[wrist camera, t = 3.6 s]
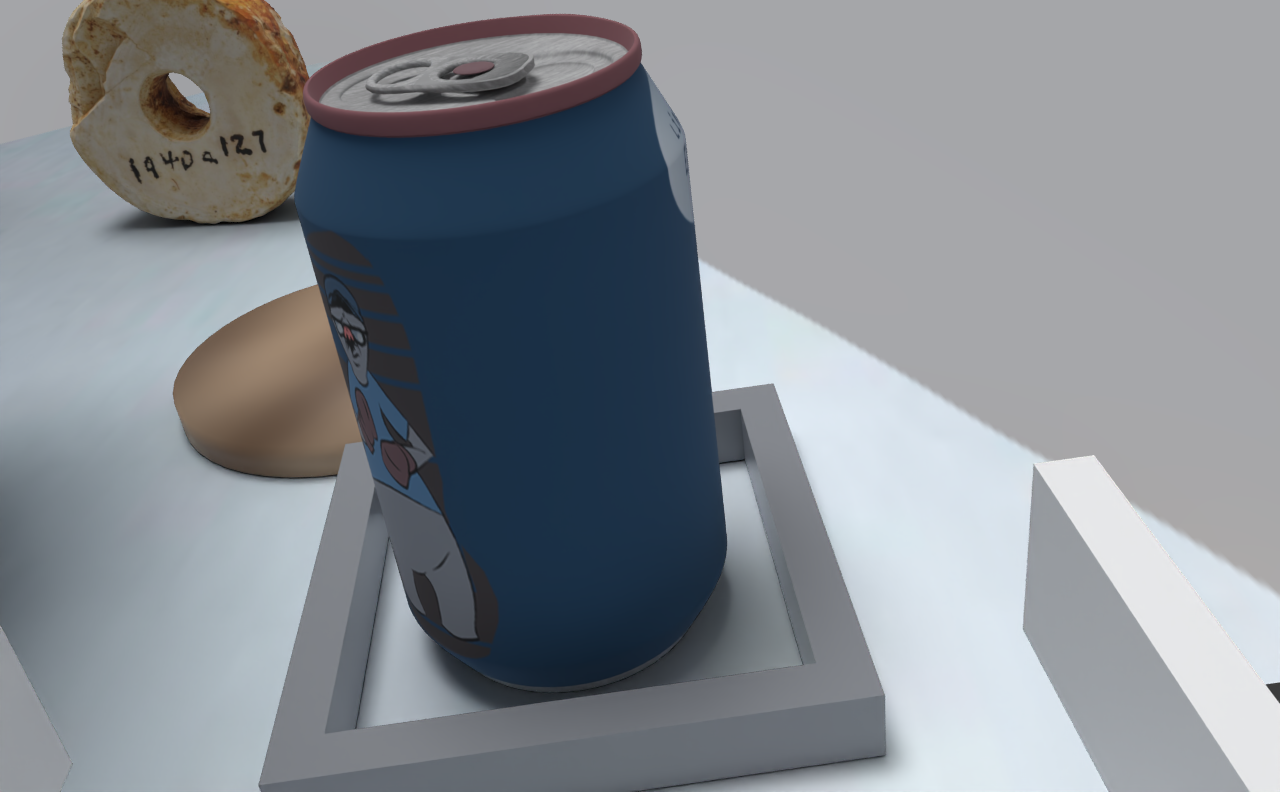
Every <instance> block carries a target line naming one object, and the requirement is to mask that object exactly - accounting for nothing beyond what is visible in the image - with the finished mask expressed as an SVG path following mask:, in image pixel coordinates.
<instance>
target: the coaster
mask: <svg viewBox="0 0 1280 792" xmlns="http://www.w3.org/2000/svg"><path fill="white" fill-rule="evenodd" d="M173 397H174V404H175V407H176V409H177V412H178V415H179V417H180V420H181V423H182V425H183V428H184V431H185V433H186V435H187V437H188V439H189V441H190V443H191V444H192V446H193V447H194V448H195V449H196V450H197V451H198V452H199V453H200V454H202V455H203V456H205V457H206V458H208V459H209V460H211V461H212V462H215V463H217V464H219V465H221V466H224V467H226V468H229V469H233V470H236V471H240V472H244V473H249V474H255V475H262V476H271V477H290V478H291V477H318V476H327V475H337V474H338V471H339V467H340V463H341V459H342V455H343V452H344V448H345V444H349V443H357V442H362V438H361V435H360V431H359V428H358V424H357V421H356V417H355V414H354V410H353V407H352V403H351V400H350V396H349V392H348V389H347V385H346V382H345V378H344V375H343V371H342V368H341V364H340V361H339V357H338V354H337V350H336V347H335V343H334V339H333V336H332V332H331V329H330V325H329V322H328V318H327V315H326V311H325V308H324V304H323V301H322V297H321V294H320V290H319V286H318V284H317V285H314V286H311V287H308V288H305V289H302V290H299V291H296V292H293V293H291V294H288V295H285V296H283V297H280V298H278V299H275V300H273V301H271V302H268V303H266V304H264V305H262V306H260V307H257V308H255V309H254V310H252V311H250V312H248V313H246V314H244V315H242V316H240V317H238V318H237V319H235V320H234V321H232V322H230V323H229V324H227V325H225V326H224V327H222V328H221V329H220V330H218V331H217V332H216V333H214V334H213V335H211V336H210V337H209V338H208V339H207V340H205V341H204V342H203V343H202V344H201V345H200V346H199V347H197V348H196V350H195V351H194V352H193V353H192V354H191V355H190V356H189V357H188V358H187V360H186V361H185V363H184V364H183V366H182V367H181V369H180V370H179V372H178V375H177V377H176V380H175V382H174V389H173Z"/></svg>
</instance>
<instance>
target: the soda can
mask: <svg viewBox="0 0 1280 792" xmlns="http://www.w3.org/2000/svg"><path fill="white" fill-rule="evenodd" d="M641 57H642V49H641V43H640V39H639V37H638V35H637V34H636V32H635V31H634V30H632V29H631V28H630V27H628V26H626V25H624V24H622V23H619V22H616V21H612V20H608V19H604V18H599V17H592V16H586V15H575V14H544V15H530V16H519V17H507V18H497V19H490V20H481V21H475V22H468V23H461V24H455V25H450V26H445V27H439V28H434V29H430V30H425V31H421V32H417V33H413V34H409V35H405V36H401V37H397V38H394V39H390V40H387V41H384V42H381V43H377V44H374V45H371V46H369V47H366V48H363V49H360V50H358V51H356V52H353V53H350V54H348V55H345V56H343V57H341V58H339V59H337V60H335V61H333V62H331V63H329V64H328V65H326V66H324V67H323V68H321V69H320V70H318V71H317V72H316V73H314V74H313V75H312V76H311V77H310V78H309V79H308V81H307V82H306V84H305V86H304V89H303V100H304V104H305V107H306V109H307V112H308V114H309V115H310V116H311V119H310V123H309V127H308V132H307V136H306V140H305V145H304V149H303V153H302V158H301V162H300V167H299V172H298V176H297V181H296V187H295V193H294V200H295V205H296V209H297V212H298V216H299V219H300V223H301V226H302V230H303V233H304V237H305V241H306V244H307V248H308V251H309V255H310V258H311V262H312V265H313V269H314V272H315V276H316V279H317V283H318V286H319V290H320V294H321V297H322V301H323V304H324V308H325V311H326V315H327V318H328V322H329V325H330V329H331V332H332V336H333V339H334V343H335V347H336V350H337V354H338V357H339V361H340V364H341V368H342V371H343V375H344V378H345V382H346V385H347V389H348V392H349V396H350V400H351V403H352V407H353V410H354V414H355V417H356V421H357V424H358V428H359V431H360V435H361V438H362V442H363V446H364V449H365V453H366V456H367V460H368V463H369V467H370V470H371V474H372V477H373V481H374V484H375V488H376V491H377V495H378V499H379V502H380V506H381V509H382V513H383V516H384V520H385V523H386V527H387V530H388V534H389V537H390V541H391V544H392V548H393V552H394V555H395V559H396V562H397V566H398V569H399V573H400V576H401V580H402V583H403V587H404V590H405V594H406V597H407V601H408V604H409V607H410V609H411V611H412V614H413V615H414V617H415V619H416V620H417V622H418V623H419V625H420V626H421V627H422V629H423V630H424V631H425V632H426V633H427V634H428V635H429V636H430V637H431V638H432V639H433V640H434V641H435V642H436V643H437V644H438V645H440V646H441V647H442V648H443V649H445V650H446V651H447V652H449V653H450V654H452V655H453V656H454V657H456V658H457V659H459V660H460V661H462V662H463V663H465V664H467V665H468V666H470V667H471V668H473V669H474V670H476V671H477V672H479V673H481V674H482V675H484V676H486V677H487V678H489V679H491V680H493V681H496V682H498V683H500V684H503V685H506V686H509V687H513V688H517V689H522V690H527V691H535V692H571V691H579V690H585V689H591V688H595V687H600V686H603V685H607V684H610V683H613V682H616V681H619V680H621V679H624V678H626V677H629V676H631V675H633V674H635V673H637V672H639V671H641V670H643V669H645V668H646V667H648V666H650V665H651V664H653V663H654V662H656V661H657V660H659V659H660V658H661V657H663V656H664V655H665V654H666V653H667V652H669V651H670V650H671V649H672V648H673V647H674V646H675V645H676V644H677V643H678V642H679V641H680V640H681V638H682V637H683V636H684V635H685V633H686V632H687V630H688V629H689V627H690V626H691V625H692V623H693V622H694V620H695V619H696V617H697V616H698V614H699V613H700V611H701V610H702V608H703V607H704V605H705V604H706V602H707V600H708V599H709V597H710V595H711V594H712V592H713V590H714V588H715V586H716V584H717V582H718V580H719V578H720V575H721V572H722V569H723V566H724V563H725V558H726V551H727V534H726V524H725V515H724V505H723V495H722V486H721V476H720V466H719V457H718V447H717V437H716V428H715V418H714V408H713V399H712V389H711V379H710V370H709V360H708V350H707V341H706V331H705V321H704V312H703V302H702V292H701V283H700V273H699V263H698V254H697V245H696V234H695V225H694V215H693V206H692V196H691V186H690V177H689V167H688V157H687V148H686V138H685V133H684V130H683V128H682V126H681V124H680V122H679V121H678V119H677V117H676V116H675V114H674V112H673V111H672V109H671V108H670V106H669V105H668V103H667V102H666V100H665V99H664V97H663V96H662V94H661V93H660V91H659V89H658V88H657V87H656V85H655V83H654V82H653V80H652V79H651V77H650V76H649V74H648V73H647V71H646V70H645V69H644V67H643V65H642V64H641Z"/></svg>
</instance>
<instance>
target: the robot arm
mask: <svg viewBox="0 0 1280 792" xmlns="http://www.w3.org/2000/svg"><path fill="white" fill-rule="evenodd" d="M1023 630H1024V632H1025V634H1026V636H1027V638H1028V640H1029V642H1030V644H1031V646H1032V648H1033V649H1034V651H1035V653H1036V655H1037V657H1038V659H1039V661H1040V663H1041V665H1042V666H1043V668H1044V670H1045V672H1046V674H1047V676H1048V678H1049V680H1050V682H1051V683H1052V685H1053V687H1054V689H1055V691H1056V693H1057V695H1058V697H1059V699H1060V701H1061V702H1062V704H1063V706H1064V708H1065V710H1066V712H1067V714H1068V716H1069V718H1070V719H1071V721H1072V723H1073V725H1074V727H1075V729H1076V731H1077V733H1078V735H1079V736H1080V738H1081V740H1082V742H1083V744H1084V746H1085V748H1086V750H1087V752H1088V753H1089V755H1090V757H1091V759H1092V761H1093V763H1094V765H1095V767H1096V769H1097V771H1098V772H1099V774H1100V776H1101V778H1102V780H1103V782H1104V784H1105V786H1106V788H1107V789H1108V791H1109V792H1280V683H1273V684H1266V685H1265V683H1264V682H1263V681H1262V679H1261V678H1260V677H1259V675H1258V674H1257V673H1256V671H1255V670H1254V669H1253V667H1252V666H1251V665H1250V663H1249V662H1248V661H1247V659H1246V658H1245V657H1244V655H1243V654H1242V653H1241V651H1240V650H1239V649H1238V647H1237V646H1236V645H1235V643H1234V642H1233V641H1232V639H1231V638H1230V636H1229V635H1228V634H1227V632H1226V631H1225V630H1224V628H1223V627H1222V626H1221V624H1220V623H1219V622H1218V620H1217V619H1216V618H1215V616H1214V615H1213V614H1212V612H1211V611H1210V610H1209V608H1208V607H1207V606H1206V604H1205V603H1204V602H1203V600H1202V599H1201V598H1200V596H1199V595H1198V594H1197V592H1196V591H1195V590H1194V588H1193V587H1192V586H1191V584H1190V583H1189V582H1188V580H1187V579H1186V578H1185V576H1184V575H1183V574H1182V572H1181V571H1180V570H1179V568H1178V567H1177V566H1176V564H1175V563H1174V562H1173V560H1172V559H1171V558H1170V556H1169V555H1168V553H1167V552H1166V551H1165V549H1164V548H1163V547H1162V545H1161V544H1160V543H1159V541H1158V540H1157V539H1156V537H1155V536H1154V535H1153V533H1152V532H1151V531H1150V529H1149V528H1148V527H1147V525H1146V524H1145V523H1144V521H1143V520H1142V519H1141V517H1140V516H1139V515H1138V513H1137V512H1136V511H1135V509H1134V508H1133V507H1132V505H1131V504H1130V503H1129V501H1128V500H1127V499H1126V497H1125V496H1124V495H1123V493H1122V492H1121V491H1120V489H1119V488H1118V487H1117V485H1116V484H1115V483H1114V481H1113V480H1112V479H1111V478H1110V476H1109V475H1108V473H1107V472H1106V471H1105V469H1104V468H1103V466H1102V465H1101V464H1100V463H1099V461H1098V460H1097V459H1096V457H1095V456H1094V455H1092V456H1085V457H1079V458H1071V459H1064V460H1057V461H1050V462H1043V463H1035V464H1034V467H1033V482H1032V497H1031V512H1030V528H1029V543H1028V558H1027V573H1026V588H1025V603H1024V618H1023ZM72 765H73V763H72V761H71V759H70V757H69V755H68V753H67V752H66V750H65V748H64V746H63V744H62V742H61V740H60V738H59V736H58V734H57V732H56V731H55V729H54V727H53V725H52V723H51V721H50V719H49V717H48V715H47V713H46V711H45V709H44V708H43V706H42V704H41V702H40V700H39V698H38V696H37V694H36V692H35V690H34V688H33V686H32V685H31V683H30V681H29V679H28V677H27V675H26V673H25V671H24V669H23V667H22V665H21V664H20V662H19V660H18V658H17V656H16V654H15V652H14V650H13V648H12V646H11V644H10V642H9V641H8V639H7V637H6V635H5V633H4V631H3V629H2V627H1V625H0V792H61V790H62V787H63V785H64V783H65V780H66V778H67V776H68V774H69V771H70V769H71V767H72Z"/></svg>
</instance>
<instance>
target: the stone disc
mask: <svg viewBox="0 0 1280 792" xmlns="http://www.w3.org/2000/svg"><path fill="white" fill-rule="evenodd" d="M62 44H63V60H64V67H65V70H66V72H67V74H68V75H69V77H70V86H69V89H68V90H69V93H70V95H69V102H70V104H71V110H72V120H73V126H72V128H71V130H70V137H71V140H72V142H73V145H74V147H75V149H76V150H77V152H78V153H79V155H80V156H81V158H82V159H83V160H84V162H85V163H86V164H87V165H88V166H89V168H90V169H91V170H92V171H93V172H94V173H95V174H96V175H97V176H98V177H99V178H100V179H101V180H102V181H103V182H104V183H105V184H106V185H107V186H108V187H109V188H110V189H111V190H112V191H114V192H115V193H116V194H117V195H118V196H120V197H121V198H122V199H124V200H125V201H127V202H129V203H130V204H132V205H134V206H135V207H137V208H138V209H140V210H142V211H145V212H147V213H150V214H153V215H156V216H160V217H163V218H170V219H178V220H192V221H195V222H198V223H211V224H217V223H219V222H222V221H227V222H243V221H246V220H251V219H254V218H256V217H260V216H263V215H265V214H267V213H268V212H270V211H272V210H274V209H275V208H277V207H278V206H280V205H281V204H282V203H283V202H284V201H285V200H286V199H287V198H288V197H289V196H290V195H291V194H292V193H293V192H294V191H295V187H296V181H297V176H298V172H299V167H300V162H301V158H302V153H303V149H304V145H305V140H306V136H307V132H308V127H309V123H310V119H311V116H310V115H309V114H308V112H307V109H306V107H305V104H304V100H303V89H304V86H305V84H306V82H307V81H308V79H309V76H308V73H307V70H306V66H305V63H304V61H303V58H302V56H301V54H300V51H299V48H298V46H297V44H296V42H295V39H294V37H293V35H292V34H291V32H290V31H289V30H288V29H287V28H285V27H284V25H283V23H282V21H281V17H280V16H279V15H278V13H277V12H276V11H275V10H274V8H272V7H271V6H270V4H268V3H267V2H266V1H264V0H84V1H83V2H82V3H81V4H80V5H79V6H78V7H77V8H76V9H75V10H74V11H73V13H72V14H71V16H70V17H69V20H68V22H67V25H66V27H65V30H64V34H63V38H62ZM172 72H174V73H178V74H182V75H184V76H185V77H187V78H189V79H191V80H192V81H193V82H194V83H195V84H196V85H197V86H199V87H200V89H201V90H202V91H203V92H204V93H205V96H206V99H207V101H208V104H209V108H210V114H209V113H207V112H205V111H203V110H201V109H198V108H196V106H195V105H194V104H192V103H191V102H189V101H188V100H187V99H186V98H185V97H184V96H183V95H182V94H181V93H180V92H179V90H178V89H177V87H176V86H175V85H174V84H173V82H172V81H171V80H170V78H169V76H168V75H169V73H172Z"/></svg>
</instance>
